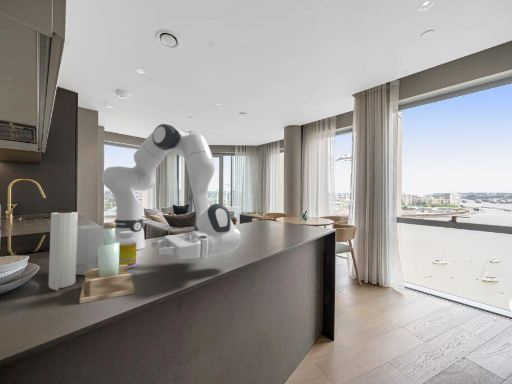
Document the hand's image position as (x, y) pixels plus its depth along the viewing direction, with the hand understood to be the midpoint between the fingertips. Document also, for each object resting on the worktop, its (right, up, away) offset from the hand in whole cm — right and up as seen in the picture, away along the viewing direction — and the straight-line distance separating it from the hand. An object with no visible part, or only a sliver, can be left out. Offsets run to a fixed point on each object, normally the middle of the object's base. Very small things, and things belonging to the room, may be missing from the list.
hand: (154, 247), depth 72 cm
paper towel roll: (-25, -10, -5) cm, 27 cm away
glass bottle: (-10, -9, -7) cm, 15 cm away
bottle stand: (-10, -10, -7) cm, 16 cm away
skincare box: (-26, -10, +6) cm, 29 cm away
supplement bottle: (-16, -10, +13) cm, 23 cm away
